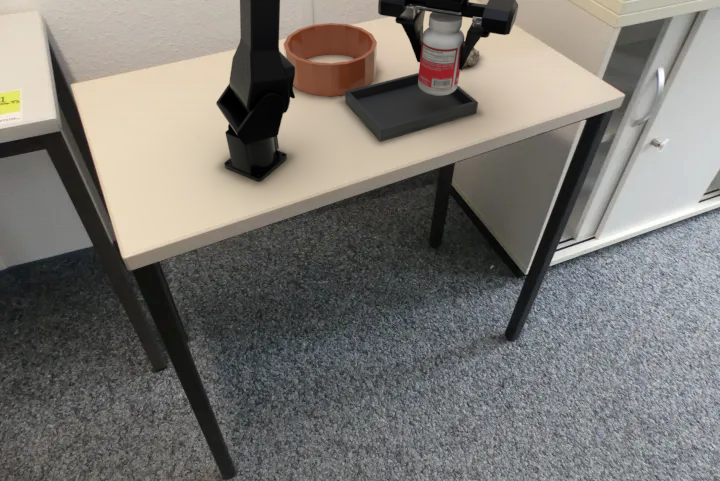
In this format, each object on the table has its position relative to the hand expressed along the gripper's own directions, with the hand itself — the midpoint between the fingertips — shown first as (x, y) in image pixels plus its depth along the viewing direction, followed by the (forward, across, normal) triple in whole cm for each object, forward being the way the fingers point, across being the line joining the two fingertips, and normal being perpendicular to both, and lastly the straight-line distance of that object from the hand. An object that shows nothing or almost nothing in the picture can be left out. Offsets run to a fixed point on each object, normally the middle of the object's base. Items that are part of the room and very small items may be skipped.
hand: (440, 64), depth 80 cm
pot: (+7, +20, -4) cm, 22 cm away
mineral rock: (+7, +1, -18) cm, 19 cm away
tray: (+7, +4, +2) cm, 8 cm away
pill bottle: (+4, 0, 0) cm, 4 cm away
